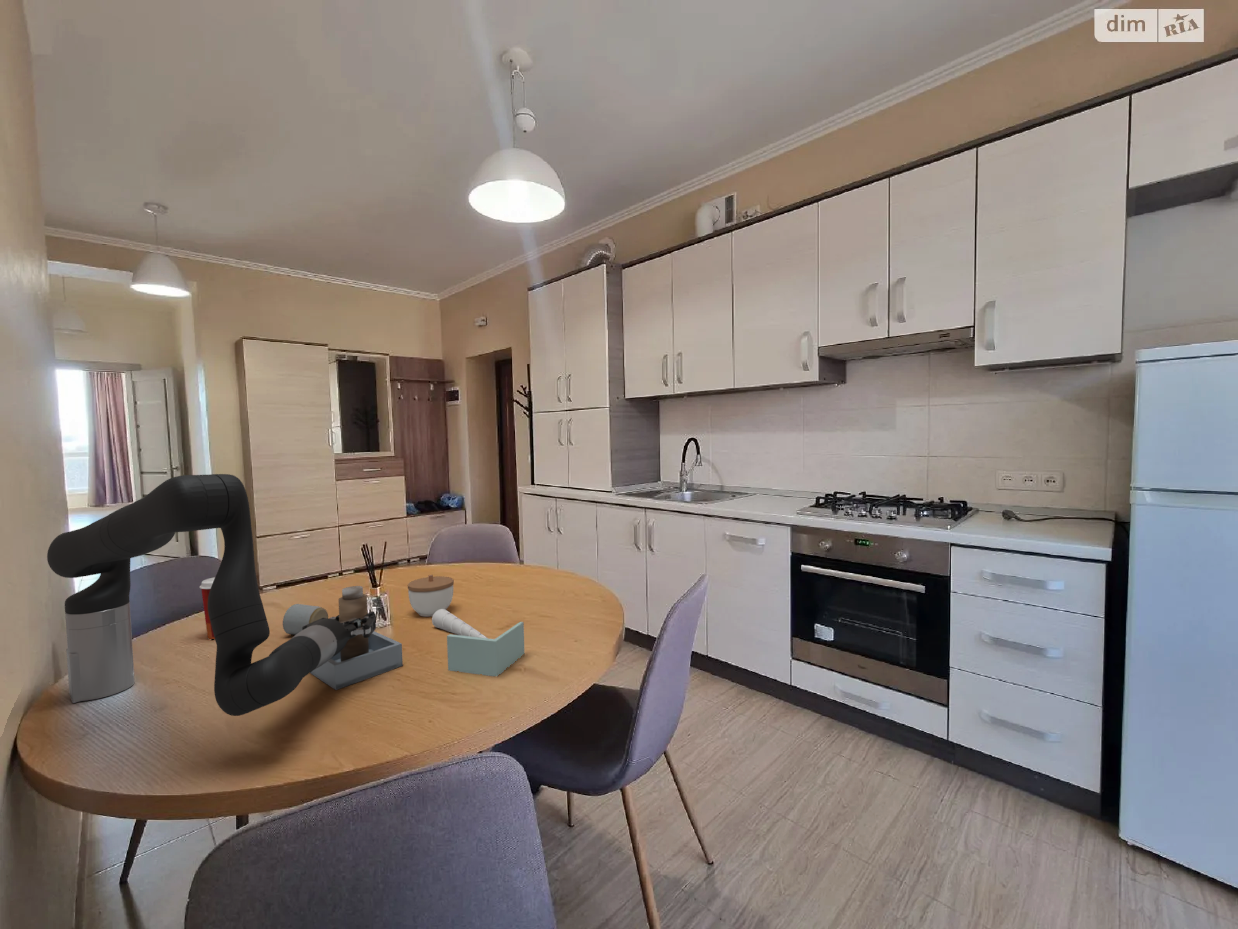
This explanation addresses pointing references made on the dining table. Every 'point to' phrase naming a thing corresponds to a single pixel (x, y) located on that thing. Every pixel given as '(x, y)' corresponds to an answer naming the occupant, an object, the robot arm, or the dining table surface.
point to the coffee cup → (205, 593)
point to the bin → (362, 663)
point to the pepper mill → (351, 607)
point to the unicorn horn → (453, 624)
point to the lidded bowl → (430, 594)
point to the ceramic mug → (301, 617)
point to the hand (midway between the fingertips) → (359, 616)
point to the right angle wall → (485, 652)
